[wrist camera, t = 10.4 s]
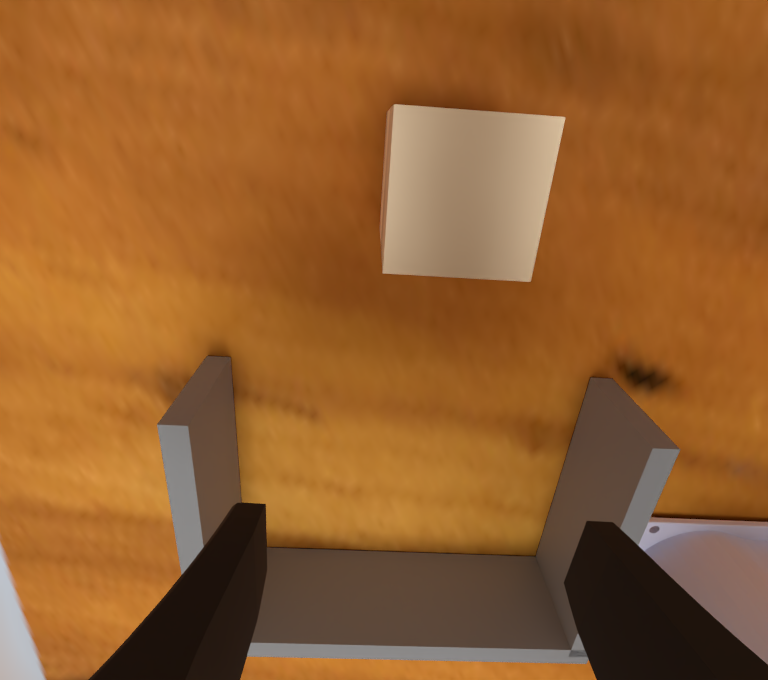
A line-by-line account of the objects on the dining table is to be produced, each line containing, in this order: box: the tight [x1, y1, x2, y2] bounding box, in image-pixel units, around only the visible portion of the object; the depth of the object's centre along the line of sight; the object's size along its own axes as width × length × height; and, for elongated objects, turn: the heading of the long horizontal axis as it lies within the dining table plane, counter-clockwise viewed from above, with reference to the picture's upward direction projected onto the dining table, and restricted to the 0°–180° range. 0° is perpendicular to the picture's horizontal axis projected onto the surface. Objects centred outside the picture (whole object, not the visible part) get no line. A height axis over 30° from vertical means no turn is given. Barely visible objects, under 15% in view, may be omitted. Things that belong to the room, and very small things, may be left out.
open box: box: [157, 356, 680, 664], centre depth 20 cm, size 18×12×5 cm
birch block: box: [380, 104, 565, 282], centre depth 14 cm, size 4×4×6 cm
